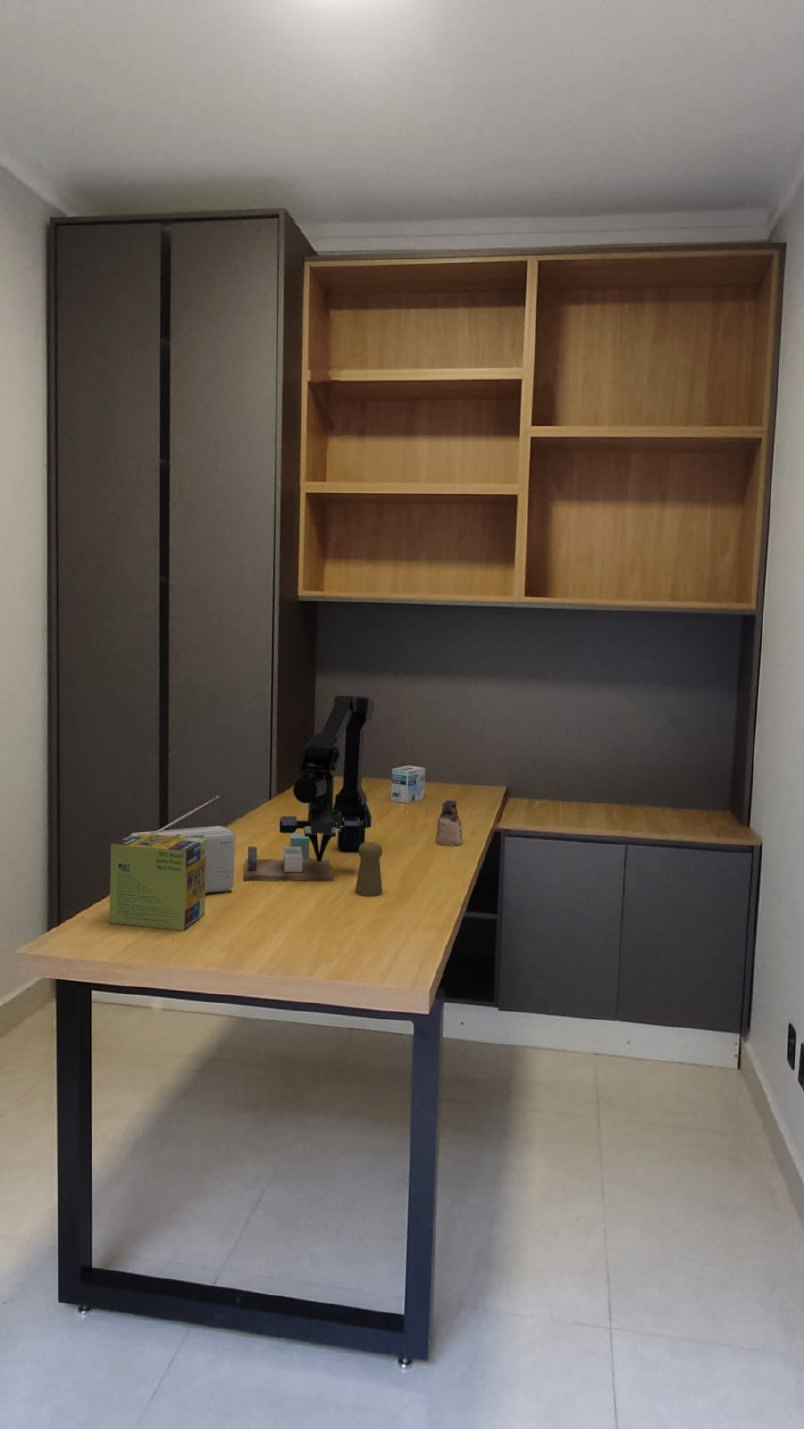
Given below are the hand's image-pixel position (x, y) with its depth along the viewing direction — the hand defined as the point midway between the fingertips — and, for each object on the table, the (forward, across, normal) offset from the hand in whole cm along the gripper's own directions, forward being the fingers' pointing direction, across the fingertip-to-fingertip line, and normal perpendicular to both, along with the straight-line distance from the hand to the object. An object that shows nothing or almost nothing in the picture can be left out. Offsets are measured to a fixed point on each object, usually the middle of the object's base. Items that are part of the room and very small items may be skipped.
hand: (318, 861), depth 221 cm
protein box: (+3, -33, -34) cm, 47 cm away
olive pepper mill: (+3, +10, -16) cm, 19 cm away
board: (+3, -7, 0) cm, 8 cm away
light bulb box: (+4, +34, +88) cm, 95 cm away
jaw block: (+3, -4, +11) cm, 12 cm away
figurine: (+3, +36, +29) cm, 47 cm away
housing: (+1, -6, 0) cm, 6 cm away
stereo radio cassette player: (+3, -30, -17) cm, 34 cm away
